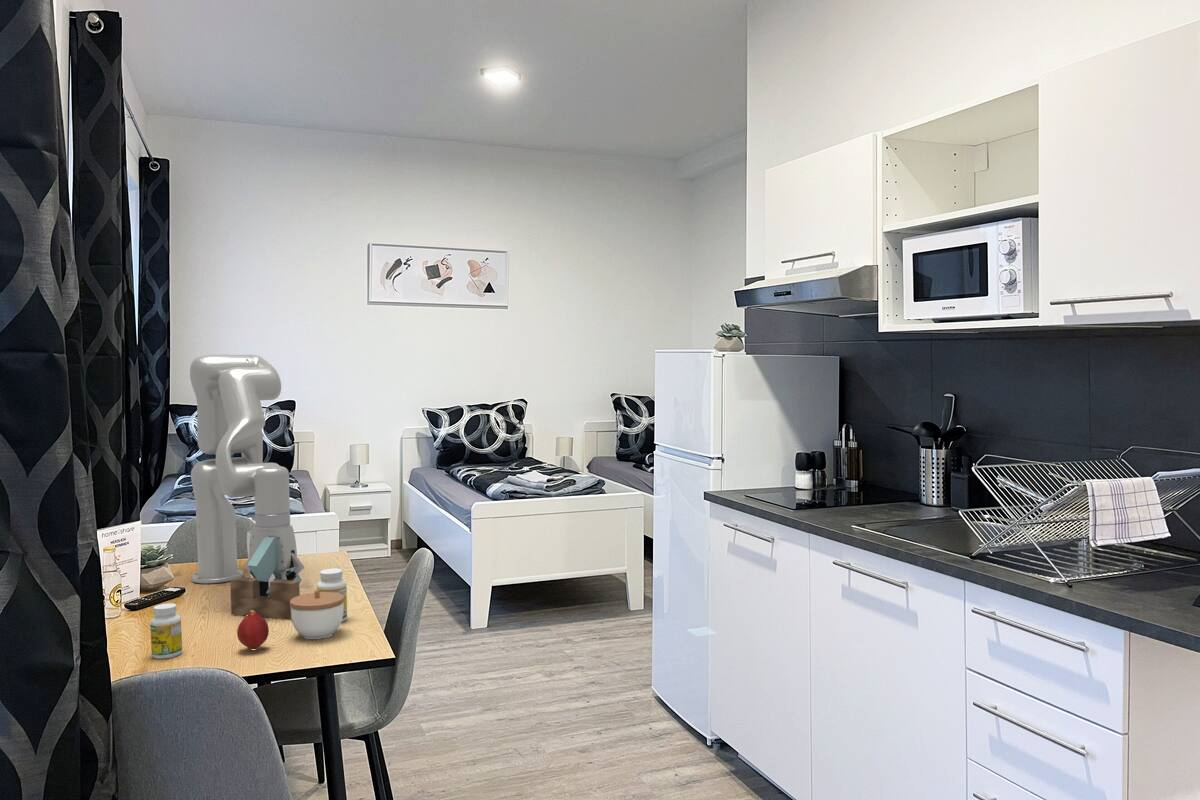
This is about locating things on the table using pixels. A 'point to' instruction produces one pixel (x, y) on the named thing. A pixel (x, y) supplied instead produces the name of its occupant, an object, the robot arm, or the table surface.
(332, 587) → the pill bottle
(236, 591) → the slotted stand
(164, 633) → the supplement bottle
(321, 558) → the table surface
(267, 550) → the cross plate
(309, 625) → the lidded jar
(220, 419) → the robot arm
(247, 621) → the onion
